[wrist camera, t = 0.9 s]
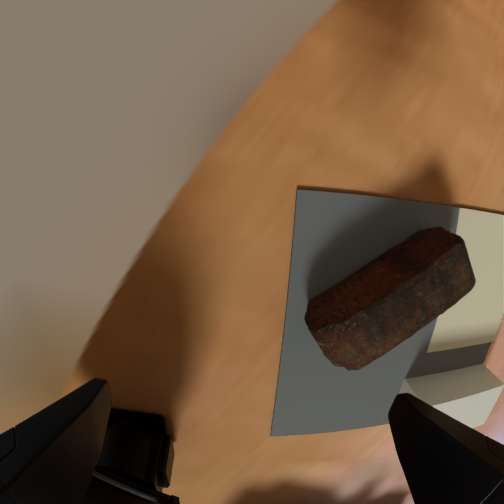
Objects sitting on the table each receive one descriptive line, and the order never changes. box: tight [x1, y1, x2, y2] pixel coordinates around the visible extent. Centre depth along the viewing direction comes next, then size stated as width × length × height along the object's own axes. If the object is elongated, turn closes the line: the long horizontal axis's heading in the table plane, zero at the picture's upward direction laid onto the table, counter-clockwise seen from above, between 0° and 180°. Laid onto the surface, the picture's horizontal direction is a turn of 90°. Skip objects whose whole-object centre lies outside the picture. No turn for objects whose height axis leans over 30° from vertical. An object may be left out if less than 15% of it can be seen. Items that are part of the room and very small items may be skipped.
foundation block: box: [388, 364, 504, 428], centre depth 23 cm, size 10×5×4 cm, turn 87°
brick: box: [304, 227, 476, 371], centre depth 19 cm, size 11×4×5 cm, turn 122°
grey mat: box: [270, 189, 504, 436], centre depth 22 cm, size 22×20×1 cm
